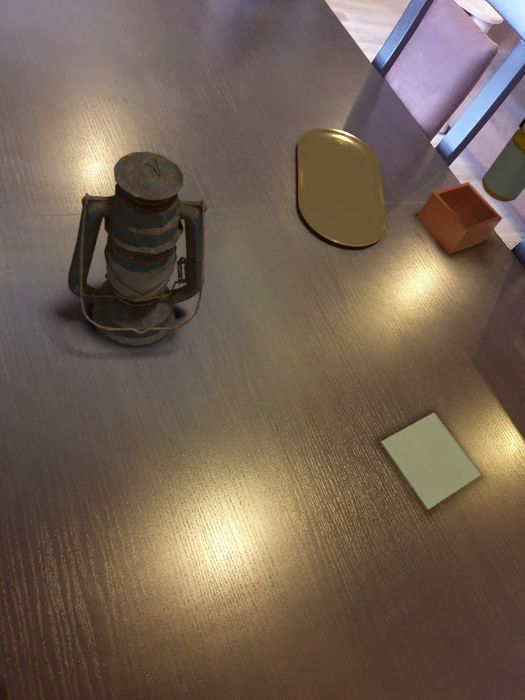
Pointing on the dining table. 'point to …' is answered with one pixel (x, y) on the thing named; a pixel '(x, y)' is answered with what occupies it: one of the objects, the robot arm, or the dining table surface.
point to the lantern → (140, 252)
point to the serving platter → (340, 188)
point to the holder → (447, 223)
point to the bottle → (507, 170)
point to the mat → (430, 460)
